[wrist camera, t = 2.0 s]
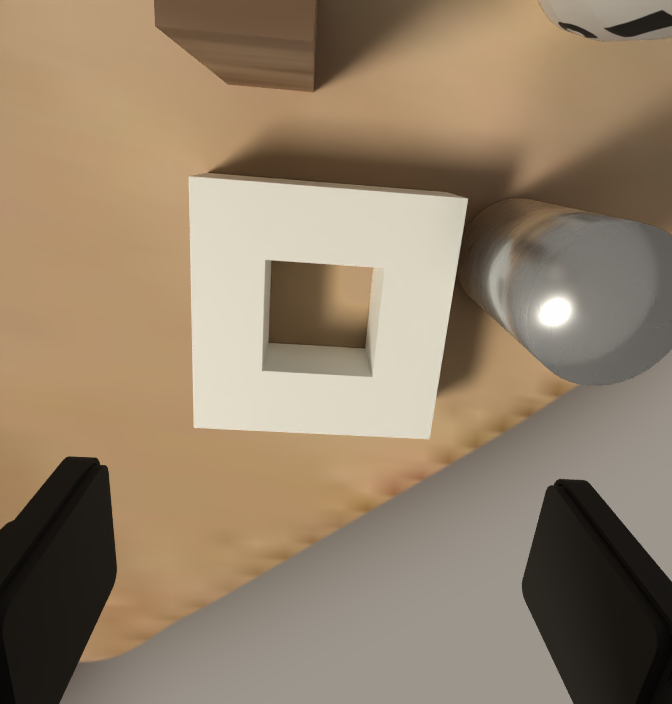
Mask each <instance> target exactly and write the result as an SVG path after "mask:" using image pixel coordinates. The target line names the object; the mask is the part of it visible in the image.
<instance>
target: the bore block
mask: <svg viewBox="0 0 672 704" xmlns="http://www.w3.org/2000/svg"><path fill="white" fill-rule="evenodd" d="M467 203H468V198H465V197H462V196H458V195H455V194H451V193H448V192H440V191H427V190H415V189H402V188H390V187H377V186H365V185H352V184H340V183H328V182H315V181H303V180H290V179H278V178H265V177H253V176H240V175H228V174H215V173H203V174H198V175H193V176H189V211H190V260H191V310H192V359H193V408H194V428H211V429H232V430H252V431H273V432H293V433H314V434H334V435H355V436H375V437H396V438H416V439H429V438H430V432H431V426H432V420H433V413H434V407H435V401H436V395H437V389H438V383H439V376H440V370H441V364H442V358H443V352H444V345H445V339H446V333H447V327H448V321H449V314H450V308H451V302H452V296H453V290H454V283H455V277H456V271H457V265H458V259H459V253H460V246H461V240H462V234H463V228H464V222H465V215H466V209H467ZM271 260H275V261H289V262H304V263H318V264H332V265H347V266H361V267H374V268H373V278H372V287H371V297H370V306H369V316H368V325H367V335H366V345H365V349H364V348H348V347H331V346H314V345H297V344H281V343H269V315H270V286H271Z"/></svg>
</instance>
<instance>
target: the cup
mask: <svg viewBox="0 0 672 704" xmlns="http://www.w3.org/2000/svg"><path fill="white" fill-rule="evenodd" d="M539 3H540V5H541V7H542V9H543V11H544V13H545V14H546V15H547V17H548V18H549V19H550V20H551V21H552V22H553V23H554V24H555V25H557V26H558V27H560V28H561V29H563V30H566V31H568V32H571V33H574V34H577V35H580V36H583V37H586V38H589V39H592V40H598V41H628V40H654V39H666V38H672V0H539Z"/></svg>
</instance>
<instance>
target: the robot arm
mask: <svg viewBox="0 0 672 704" xmlns="http://www.w3.org/2000/svg"><path fill="white" fill-rule="evenodd" d="M116 573H117V564H116V552H115V541H114V529H113V518H112V506H111V495H110V483H109V472H108V468H107V466H106V465H100V462H99V460H98V459H97V458H91V457H70V456H69V457H66V458H65V459H64V460H63V461H62V462H61V463H60V465H59V466H58V467H57V468H56V470H55V471H54V472H53V473H52V474H51V476H50V477H49V478H48V479H47V481H46V482H45V483H44V484H43V485H42V487H41V488H40V489H39V490H38V492H37V493H36V494H35V495H34V497H33V498H32V499H31V500H30V501H29V503H28V504H27V505H26V506H25V508H24V509H23V510H22V511H21V512H20V514H19V515H18V516H17V517H16V519H15V520H14V521H11V522H8V523H7V524H6V525H5V526H4V527H3V528H2V529H1V530H0V704H59V703H60V701H61V699H62V696H63V694H64V692H65V690H66V688H67V686H68V683H69V681H70V679H71V677H72V675H73V673H74V670H75V668H76V666H77V664H78V662H79V660H80V657H81V655H82V653H83V651H84V649H85V647H86V645H87V642H88V640H89V638H90V636H91V634H92V632H93V629H94V627H95V625H96V623H97V621H98V619H99V616H100V614H101V612H102V610H103V608H104V606H105V603H106V601H107V599H108V597H109V595H110V593H111V591H112V588H113V586H114V583H115V579H116ZM522 592H523V597H524V599H525V602H526V604H527V606H528V608H529V610H530V612H531V614H532V617H533V619H534V621H535V623H536V625H537V627H538V629H539V631H540V633H541V636H542V638H543V640H544V642H545V644H546V646H547V648H548V650H549V652H550V655H551V657H552V659H553V661H554V663H555V665H556V667H557V669H558V671H559V674H560V676H561V678H562V680H563V682H564V684H565V687H566V689H567V690H568V693H569V695H570V697H571V699H572V701H573V703H574V704H672V582H671V580H670V579H669V578H668V577H667V576H666V574H665V573H664V572H663V571H662V570H661V569H660V567H659V566H658V565H657V564H656V562H655V561H654V560H653V559H652V558H651V557H650V555H649V554H648V553H647V552H646V550H645V549H644V548H643V547H642V546H641V544H640V543H639V542H638V541H637V540H636V538H635V537H634V536H633V535H632V534H631V533H630V531H629V530H628V529H627V528H626V526H625V525H624V524H623V523H622V522H621V520H620V519H619V518H618V517H617V516H616V514H615V513H614V512H613V511H612V510H611V508H610V507H609V506H608V505H607V504H606V502H605V501H604V500H603V499H602V498H601V497H600V495H599V494H598V493H597V492H596V491H595V489H594V488H593V487H592V486H591V485H590V483H588V482H587V481H585V480H569V479H559V480H557V481H556V482H555V484H554V486H553V485H551V486H549V487H548V488H547V490H546V493H545V497H544V501H543V504H542V508H541V512H540V516H539V520H538V523H537V527H536V531H535V535H534V539H533V542H532V547H531V550H530V554H529V558H528V562H527V565H526V569H525V573H524V577H523V581H522Z"/></svg>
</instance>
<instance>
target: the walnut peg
mask: <svg viewBox="0 0 672 704" xmlns="http://www.w3.org/2000/svg"><path fill="white" fill-rule="evenodd" d="M318 4H319V0H154V8H155V26H156V27H157V28H158V29H159V30H161V31H162V32H163V33H164V34H166V35H167V36H168V37H169V38H171V39H172V40H173V41H174V42H176V43H177V44H178V45H179V46H181V47H182V48H183V49H184V50H186V51H187V52H188V53H189V54H191V55H192V56H193V57H194V58H196V59H197V60H198V61H199V62H201V63H202V64H203V65H204V66H206V67H207V68H208V69H209V70H211V71H212V72H213V73H214V74H216V75H217V76H218V77H219V78H221V79H222V80H223V81H224V82H226V83H227V84H230V85H241V86H252V87H263V88H274V89H285V90H296V91H307V92H314V75H315V57H316V40H317V22H318Z"/></svg>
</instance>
